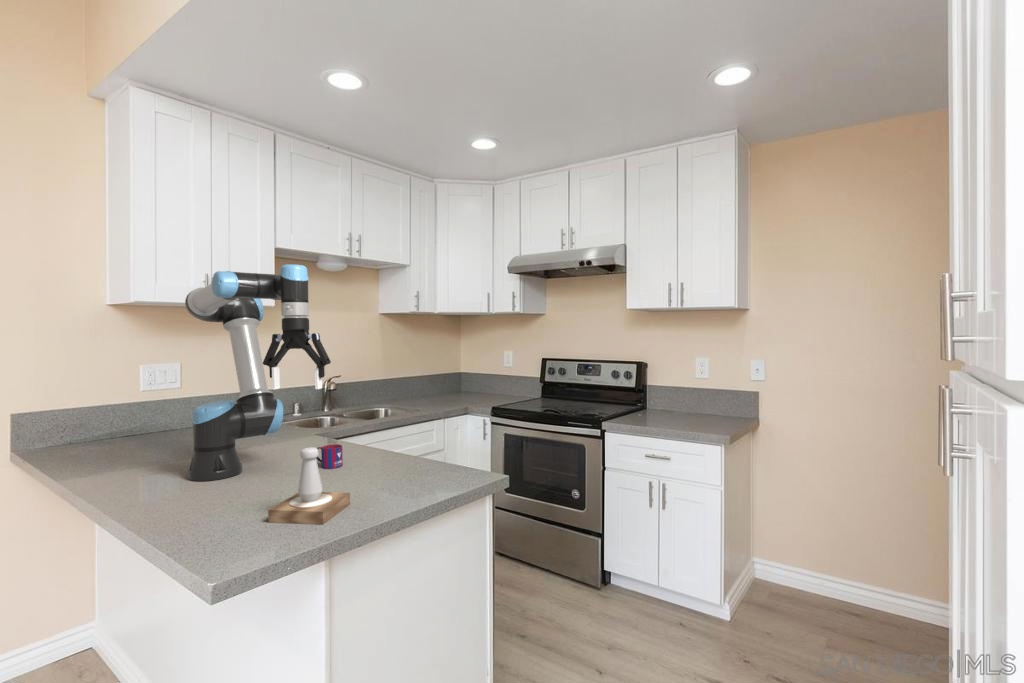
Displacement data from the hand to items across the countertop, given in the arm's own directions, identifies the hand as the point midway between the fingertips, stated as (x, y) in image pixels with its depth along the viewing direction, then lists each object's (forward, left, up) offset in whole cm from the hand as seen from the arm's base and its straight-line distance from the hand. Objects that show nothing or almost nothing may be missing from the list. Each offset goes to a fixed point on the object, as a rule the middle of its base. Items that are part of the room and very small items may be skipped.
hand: (297, 388), depth 152 cm
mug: (-2, +21, -29) cm, 36 cm away
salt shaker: (+16, -22, -26) cm, 37 cm away
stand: (+16, -22, -29) cm, 40 cm away
